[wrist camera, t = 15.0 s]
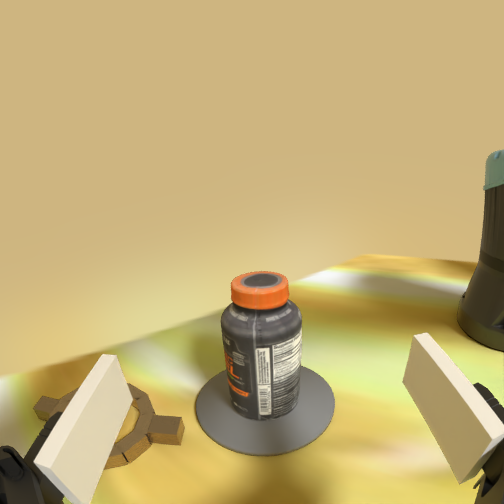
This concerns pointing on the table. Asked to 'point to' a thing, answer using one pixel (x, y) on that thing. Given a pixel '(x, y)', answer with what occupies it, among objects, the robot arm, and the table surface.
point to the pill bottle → (262, 346)
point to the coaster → (266, 432)
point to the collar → (138, 440)
